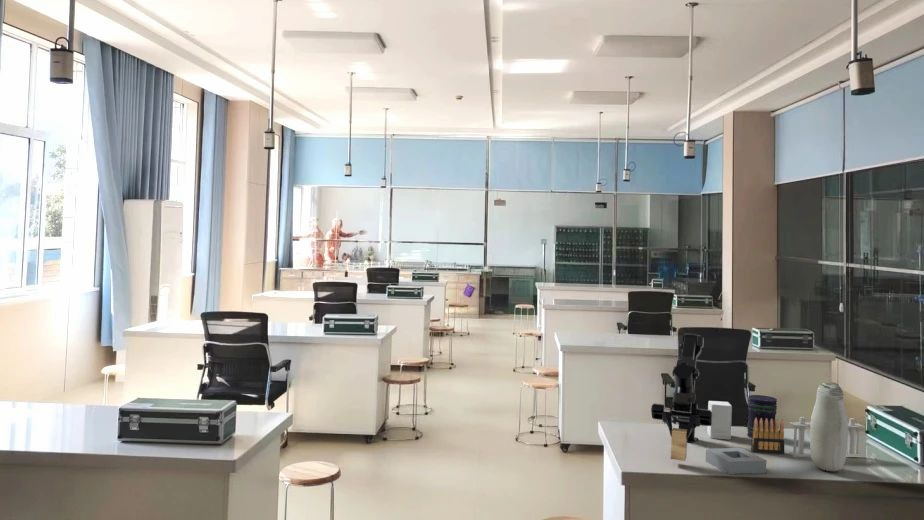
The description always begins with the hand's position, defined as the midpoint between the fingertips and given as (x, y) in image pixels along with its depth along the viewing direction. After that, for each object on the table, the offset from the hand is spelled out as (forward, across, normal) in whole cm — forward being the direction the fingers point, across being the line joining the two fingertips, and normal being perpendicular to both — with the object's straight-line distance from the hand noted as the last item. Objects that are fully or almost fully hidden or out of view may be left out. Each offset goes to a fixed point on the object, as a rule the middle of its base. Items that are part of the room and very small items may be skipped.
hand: (679, 437), depth 212 cm
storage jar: (-29, +26, +43) cm, 58 cm away
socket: (+1, +17, +13) cm, 21 cm away
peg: (+4, 0, +6) cm, 7 cm away
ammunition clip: (-15, +27, +29) cm, 43 cm away
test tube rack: (-20, +46, +34) cm, 60 cm away
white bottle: (-7, +44, +21) cm, 50 cm away
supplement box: (-24, +11, +38) cm, 47 cm away
